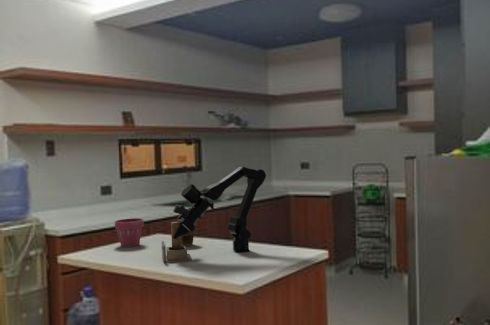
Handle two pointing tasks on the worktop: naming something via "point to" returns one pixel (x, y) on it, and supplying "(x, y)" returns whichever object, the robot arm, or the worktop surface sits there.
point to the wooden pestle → (176, 242)
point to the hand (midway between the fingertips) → (173, 237)
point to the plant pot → (129, 231)
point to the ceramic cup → (187, 239)
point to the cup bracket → (174, 254)
